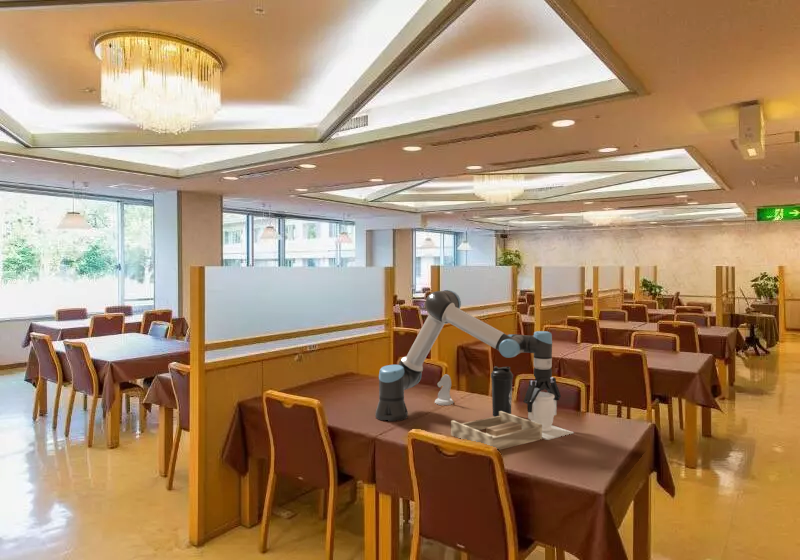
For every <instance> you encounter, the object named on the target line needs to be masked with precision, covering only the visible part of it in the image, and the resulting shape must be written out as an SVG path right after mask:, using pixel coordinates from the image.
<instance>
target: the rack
mask: <svg viewBox="0 0 800 560" xmlns="http://www.w3.org/2000/svg"><path fill="white" fill-rule="evenodd" d="M508 422H515V423H518V424H522V430H521V431H517V432H513V433H508V434H504V435H500V436H495V437H492V436H491V435H489V434H486V432H484V431H481V430H486V428H488V427H492V426H496V425H500V424H504V423H508ZM450 436H452V437H454V436H455V438H457V437H458V438H457V439H459V438H461V439H467V440H471V441H476V442H481V443H484V444H487V445H490V446H493V447H496V448H497V449H499V450H498V451H500V450H503V449H508V448H512V447H517V446H520V445H524V444H528V443H533V442H536V441H540V439H541V440H542V439H543V438H542V424H539V423H536V422H533V421H531V420H530V419H528V418H527V419H526V418H523V417H520V416H518V415H515V414H512V413H511V414H509V413H506V412H503V411H499V416H495V417H494V416H490V417H486V418H481V419H477V420H472V421H471V420H470V421H468V422H458V421H456V420H454V419H453V420H450ZM461 439H460V440H461Z"/></svg>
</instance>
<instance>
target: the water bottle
mask: <svg viewBox="0 0 800 560" xmlns="http://www.w3.org/2000/svg"><path fill="white" fill-rule="evenodd" d="M490 378H491V396H492V397H491V401H492V403H491V404H492V417H495V416H499V411H503V412H506V413H509V414H512V401H513V400H512V398H513V378H514V374H513V372H512V371H511V366H502V367H498V366H497V365H495V366H494V367H493V370H492V371H491V373H490Z"/></svg>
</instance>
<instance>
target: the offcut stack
mask: <svg viewBox="0 0 800 560" xmlns="http://www.w3.org/2000/svg"><path fill="white" fill-rule="evenodd" d="M521 430H522V424H518V423H515V422H508V423H504V424H500V425H496V426H492V427H488V428H486V429H485V433H486V434H489V435H491V436H492V437H495V436H500V435H504V434H508V433H513V432H517V431H521Z"/></svg>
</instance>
